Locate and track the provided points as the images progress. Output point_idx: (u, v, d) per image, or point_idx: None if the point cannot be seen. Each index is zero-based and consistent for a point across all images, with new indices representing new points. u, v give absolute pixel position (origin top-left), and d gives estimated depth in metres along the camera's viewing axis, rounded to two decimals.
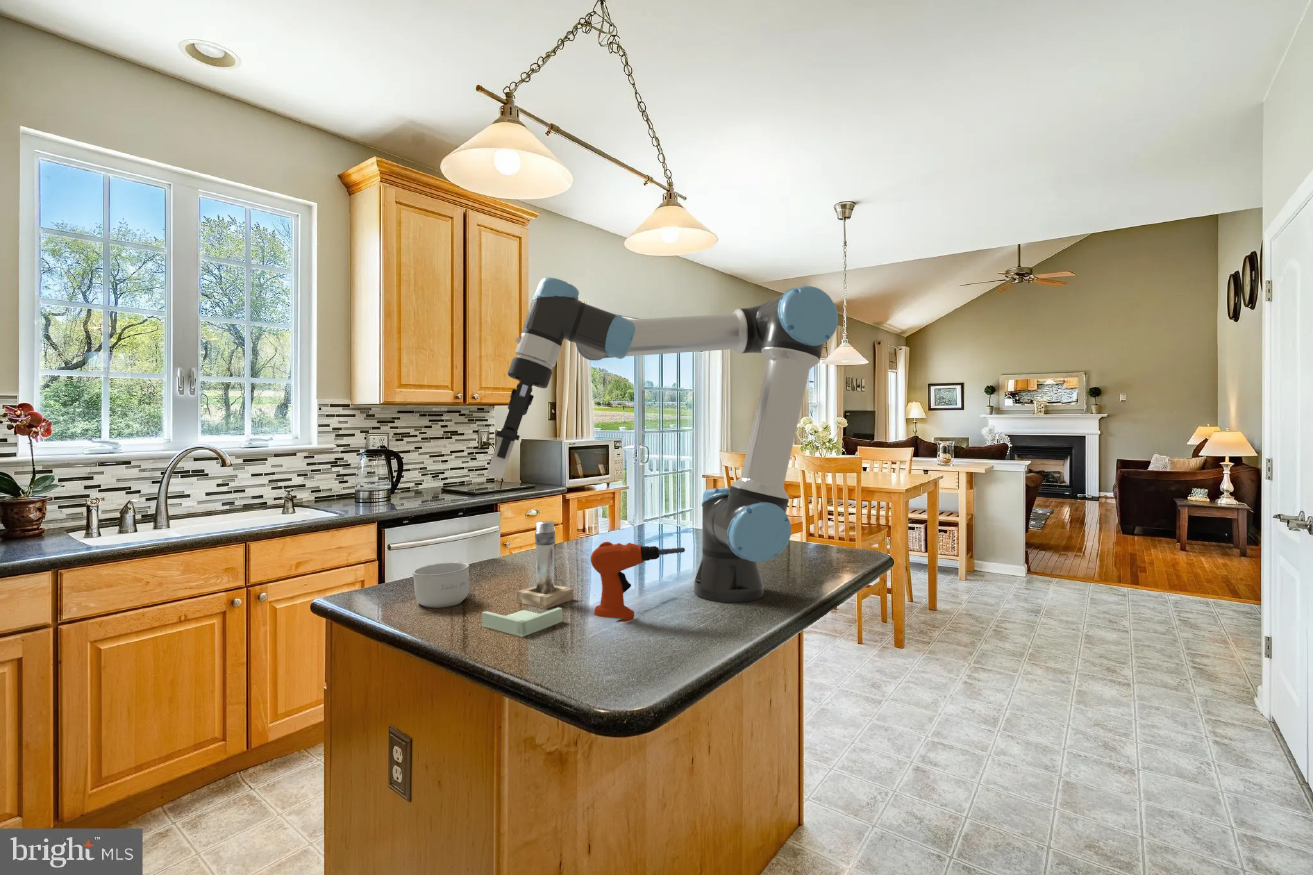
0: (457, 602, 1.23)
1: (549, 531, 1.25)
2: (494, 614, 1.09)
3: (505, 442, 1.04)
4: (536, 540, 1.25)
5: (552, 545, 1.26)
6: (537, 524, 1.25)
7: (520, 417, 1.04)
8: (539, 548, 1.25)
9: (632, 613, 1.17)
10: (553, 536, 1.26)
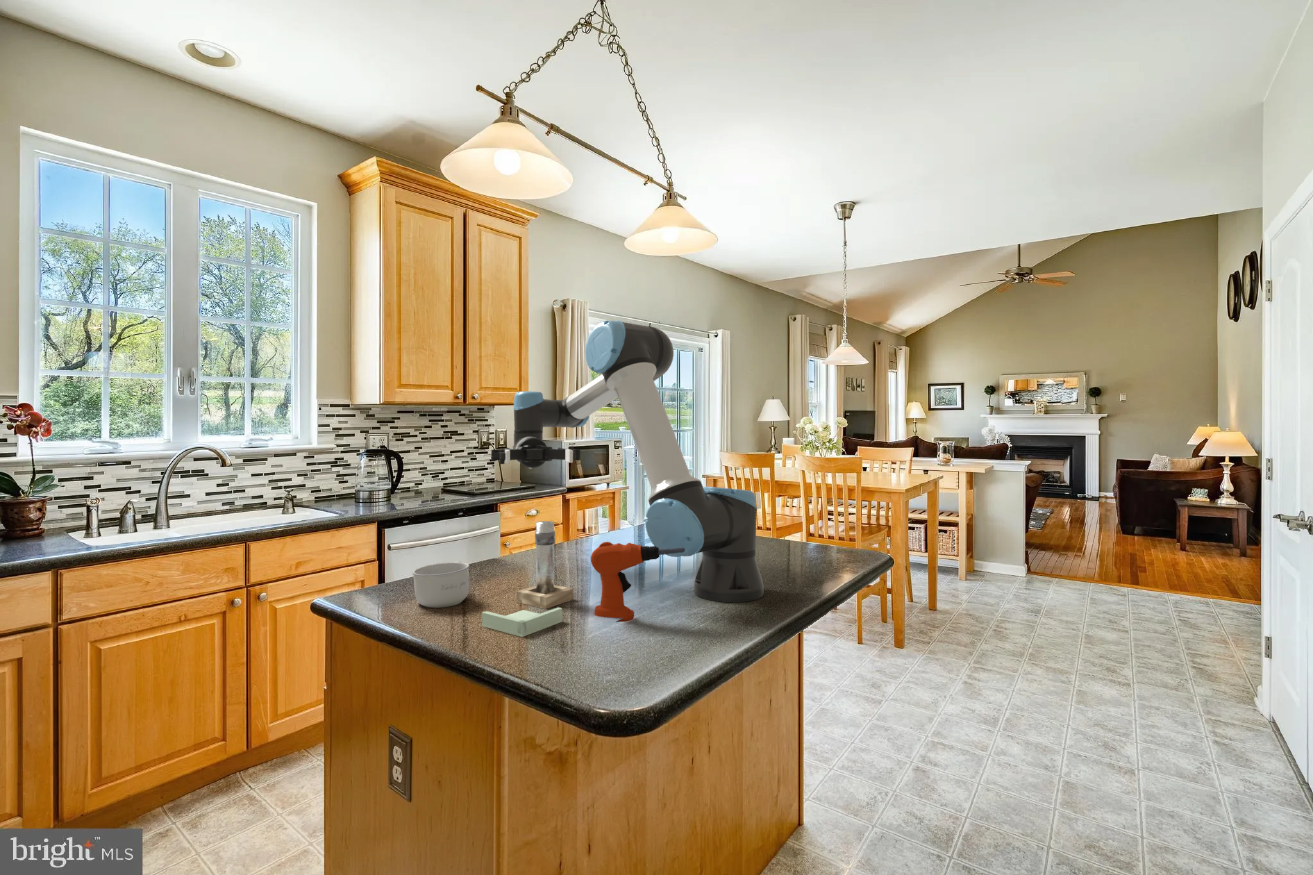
0: (457, 602, 1.23)
1: (549, 531, 1.25)
2: (494, 614, 1.09)
3: (500, 455, 1.39)
4: (536, 540, 1.25)
5: (552, 545, 1.26)
6: (537, 524, 1.25)
7: (497, 450, 1.43)
8: (539, 548, 1.25)
9: (632, 613, 1.17)
10: (553, 536, 1.26)
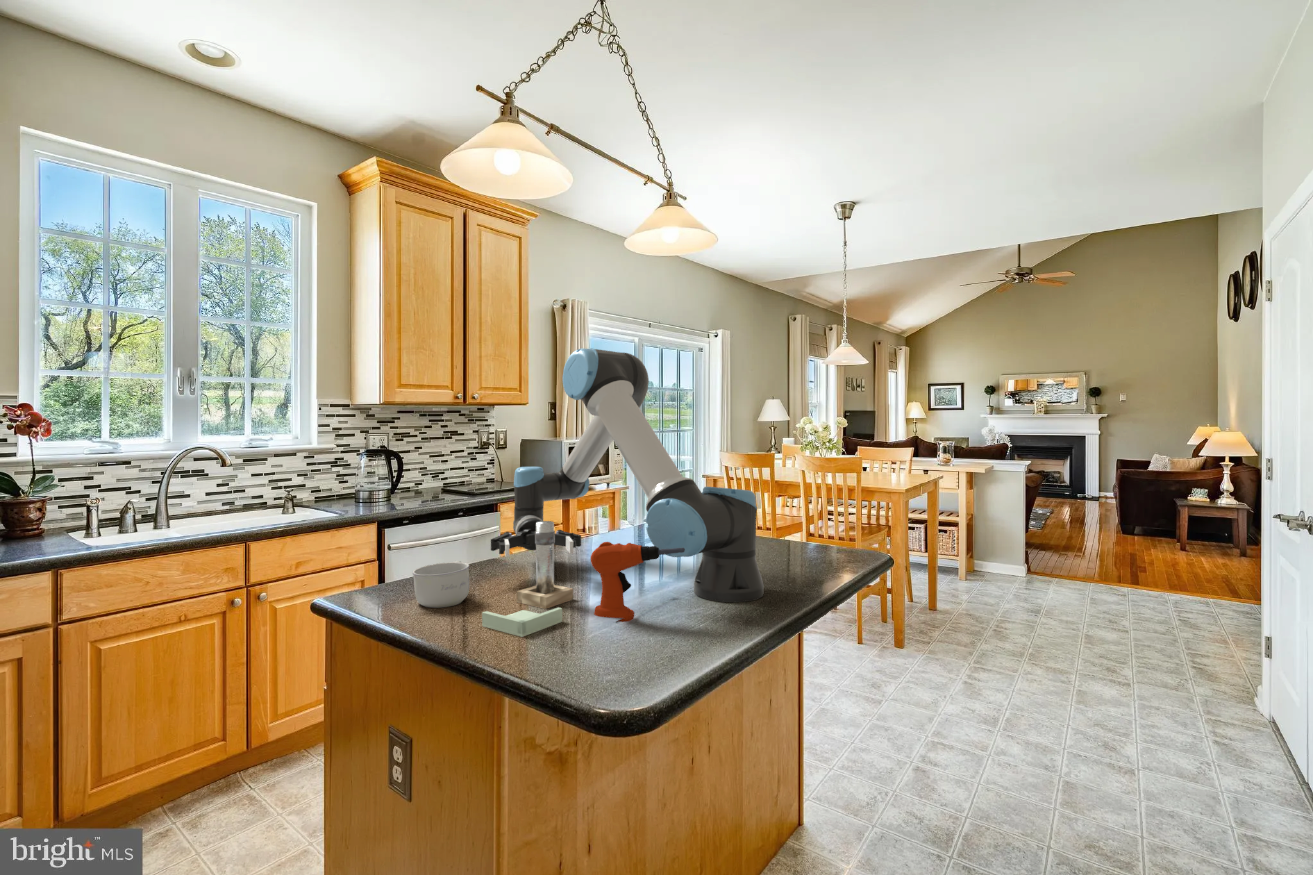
0: (457, 602, 1.23)
1: (549, 531, 1.25)
2: (494, 614, 1.09)
3: None
4: (536, 540, 1.25)
5: (552, 545, 1.26)
6: (537, 524, 1.25)
7: None
8: (539, 548, 1.25)
9: (632, 613, 1.17)
10: (553, 536, 1.26)
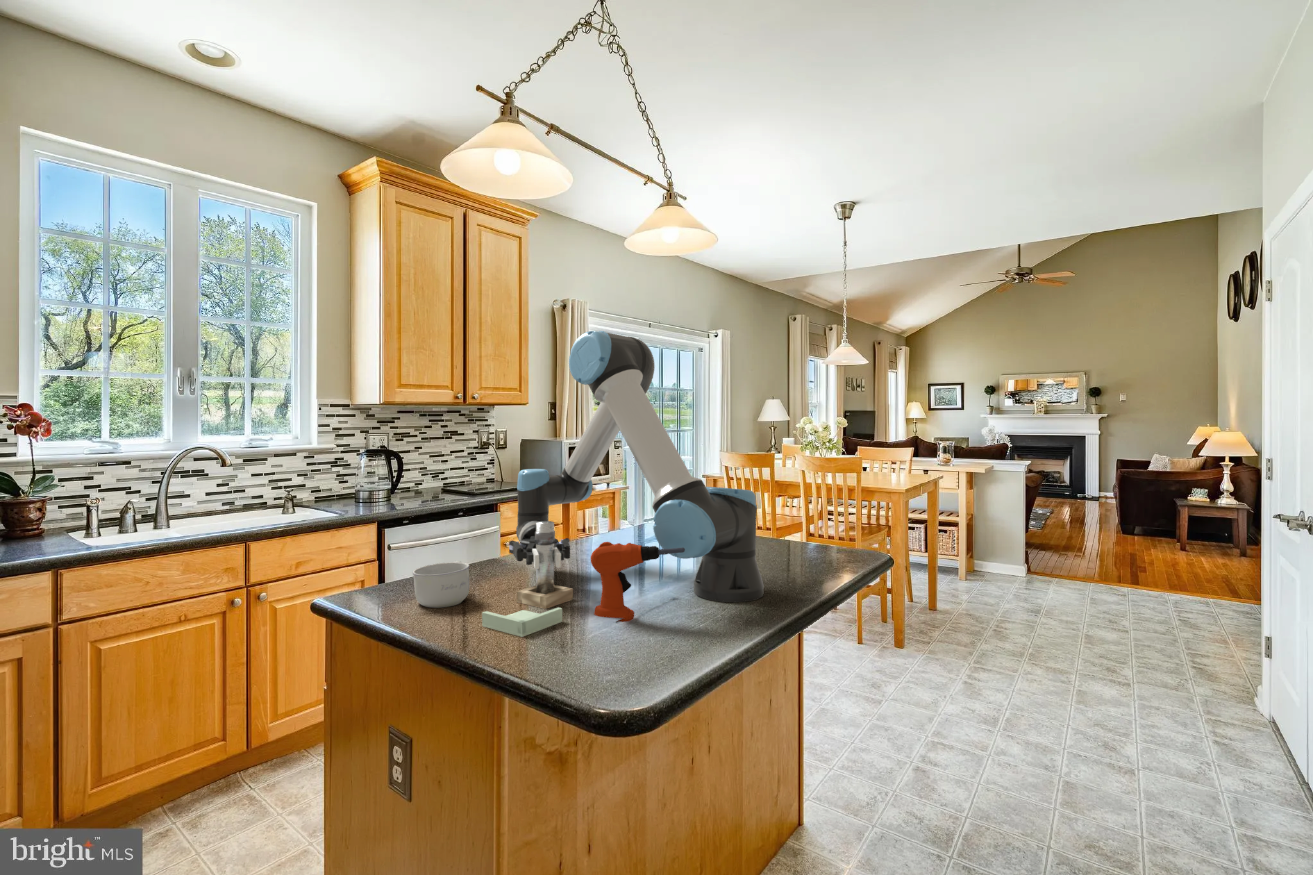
0: (457, 602, 1.23)
1: (549, 531, 1.25)
2: (494, 614, 1.09)
3: (526, 556, 1.26)
4: (536, 540, 1.25)
5: (552, 545, 1.26)
6: (537, 524, 1.25)
7: (515, 547, 1.30)
8: (539, 548, 1.25)
9: (632, 613, 1.17)
10: (553, 536, 1.26)
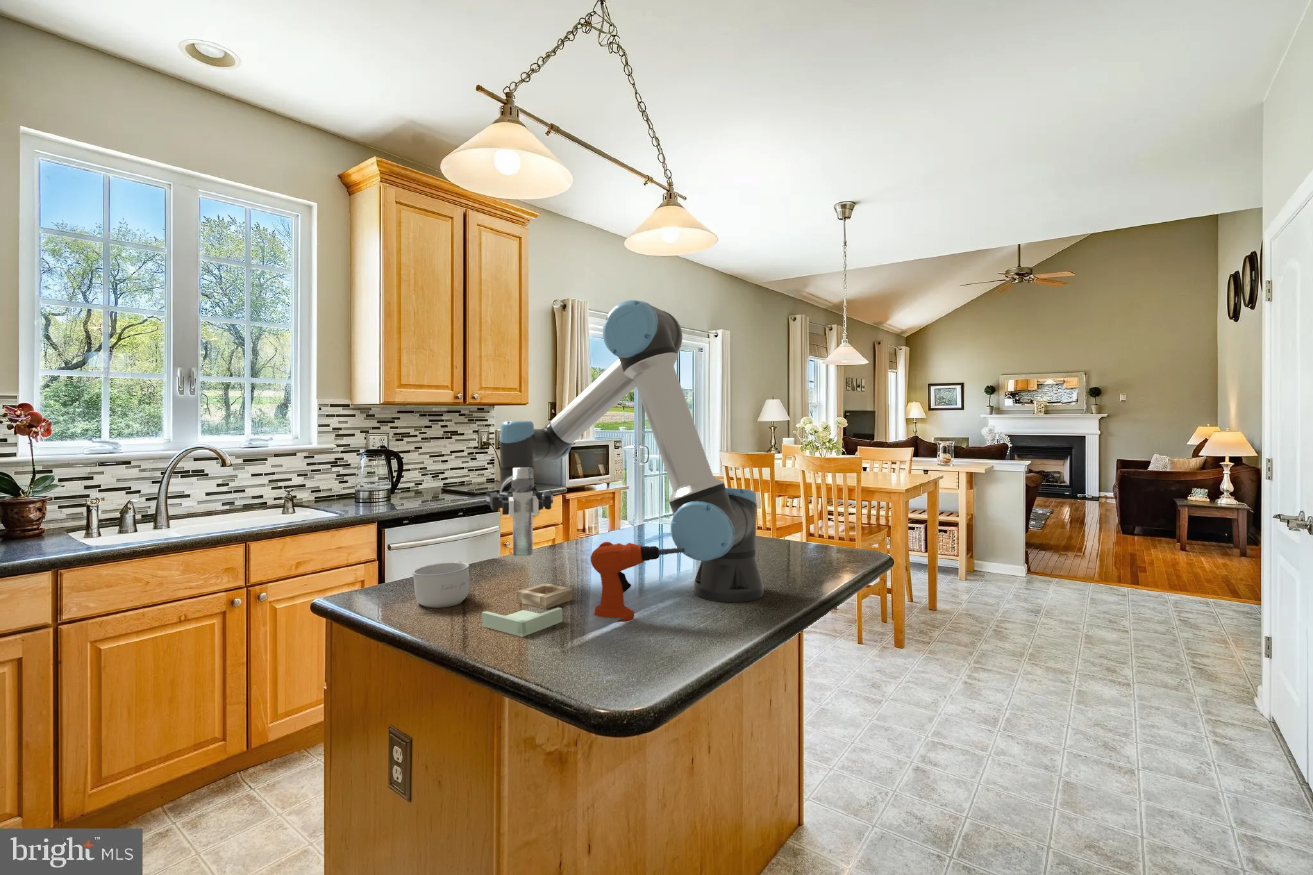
0: (457, 602, 1.23)
1: (526, 477, 1.13)
2: (494, 614, 1.09)
3: None
4: (512, 487, 1.14)
5: (530, 493, 1.14)
6: (513, 469, 1.14)
7: (491, 496, 1.19)
8: (515, 496, 1.13)
9: (632, 613, 1.17)
10: (531, 483, 1.14)
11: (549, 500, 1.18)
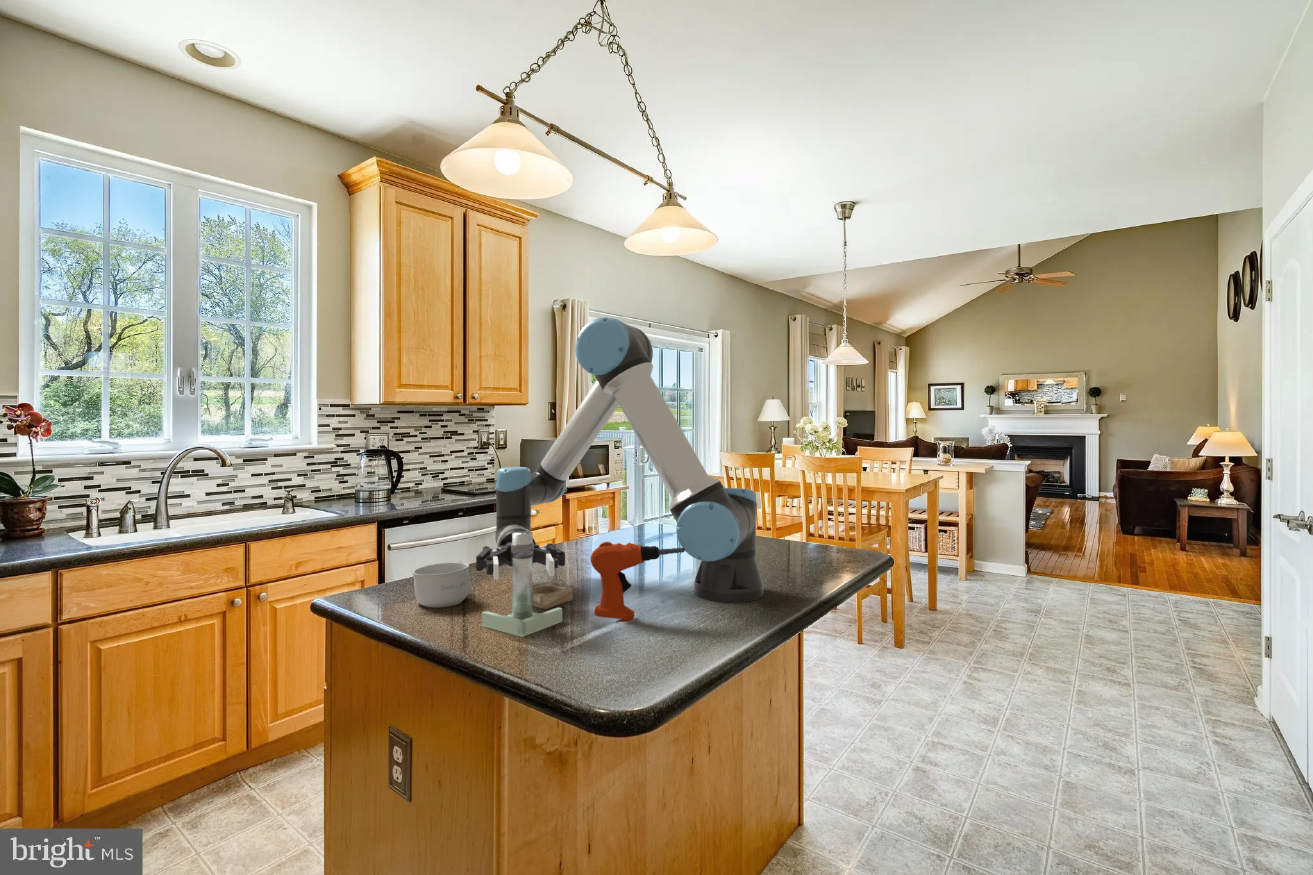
0: (457, 602, 1.23)
1: (527, 543, 1.10)
2: (494, 614, 1.09)
3: (486, 565, 1.11)
4: (512, 553, 1.11)
5: (530, 559, 1.11)
6: (513, 535, 1.11)
7: None
8: (515, 562, 1.10)
9: (632, 613, 1.17)
10: (531, 548, 1.11)
11: (564, 556, 1.17)
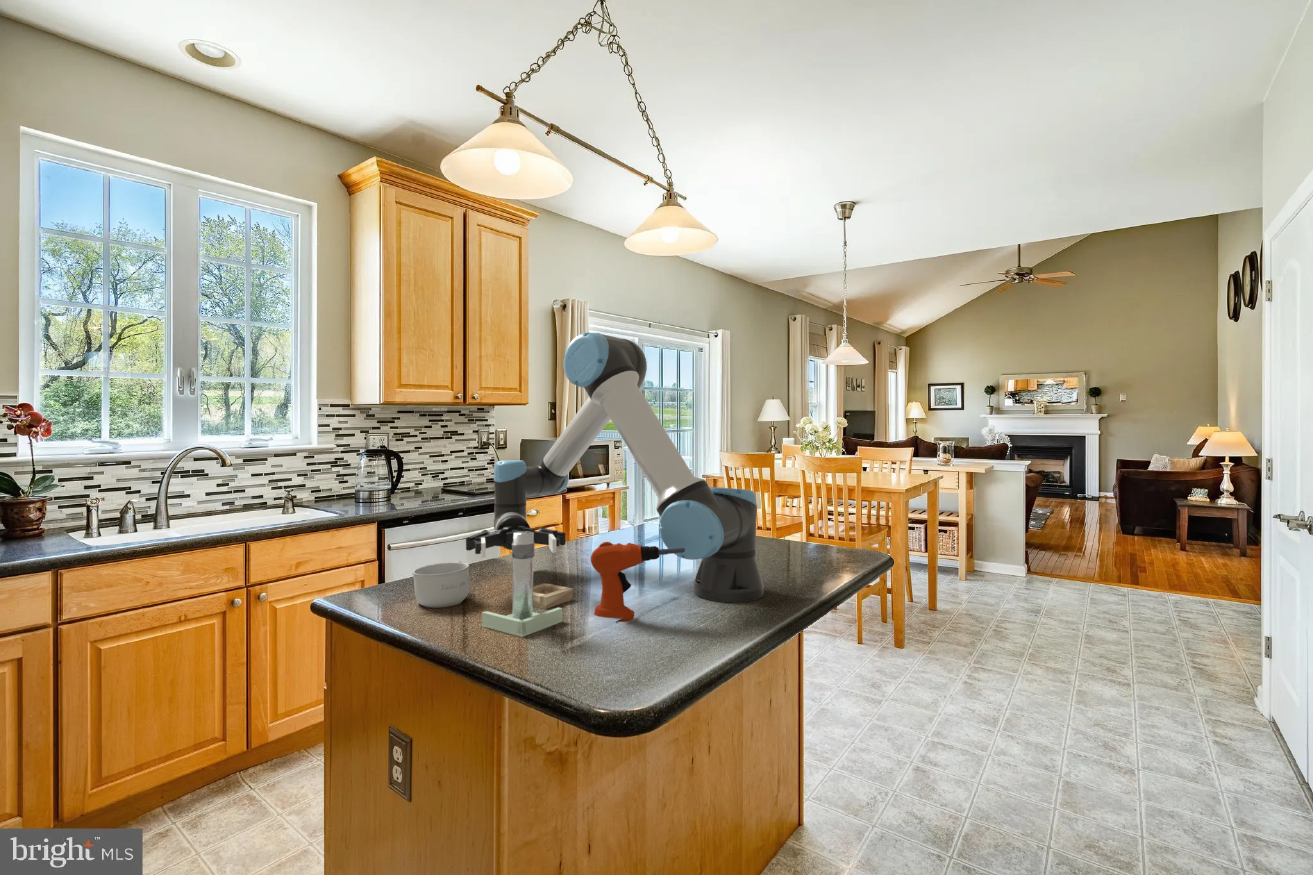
0: (457, 602, 1.23)
1: (528, 543, 1.10)
2: (494, 614, 1.09)
3: (475, 545, 1.25)
4: (513, 553, 1.11)
5: (531, 559, 1.11)
6: (514, 535, 1.11)
7: (473, 536, 1.29)
8: (516, 562, 1.10)
9: (632, 613, 1.17)
10: (532, 548, 1.11)
11: (565, 536, 1.31)
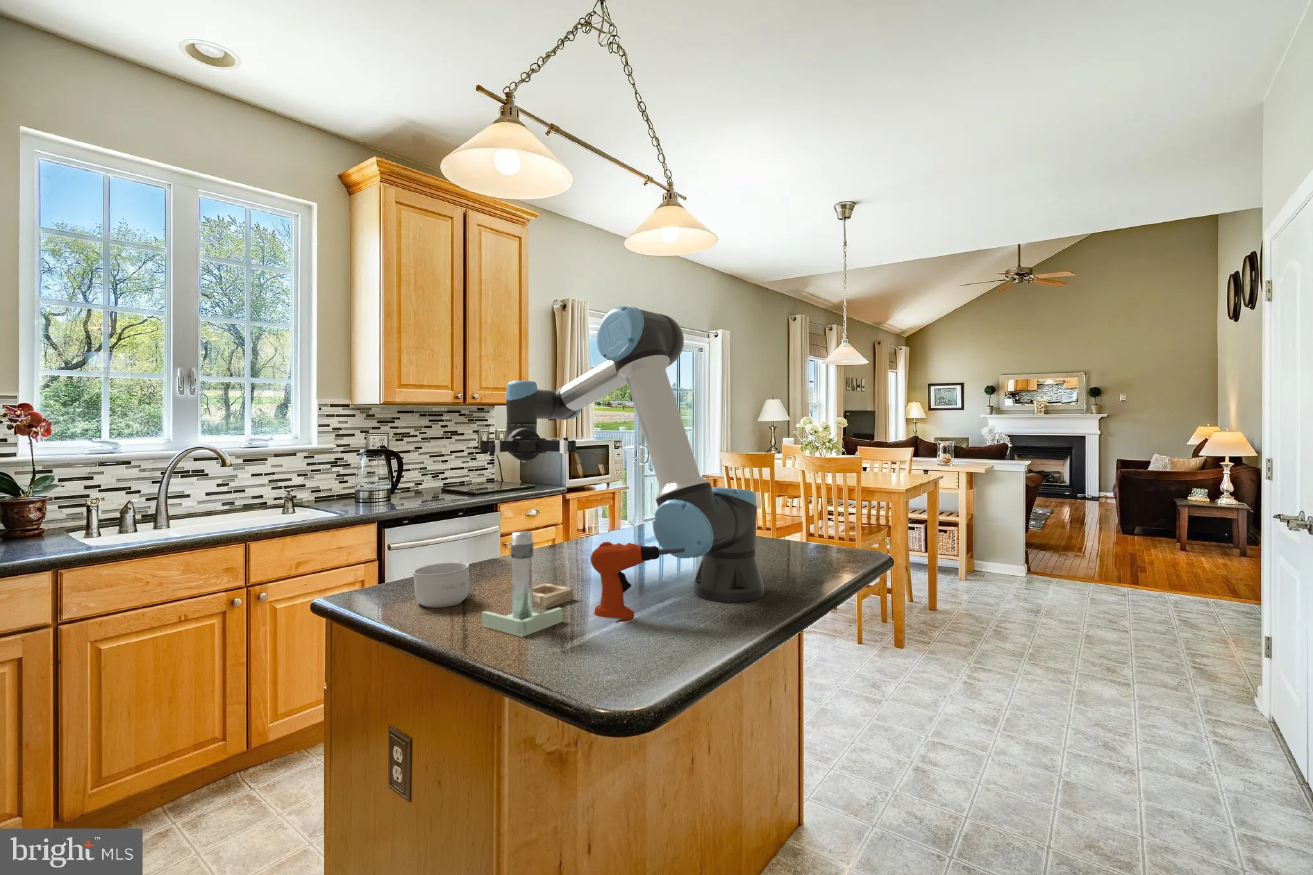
0: (457, 602, 1.23)
1: (526, 542, 1.10)
2: (494, 614, 1.09)
3: (489, 447, 1.30)
4: (512, 553, 1.11)
5: (530, 558, 1.11)
6: (513, 535, 1.11)
7: None
8: (515, 562, 1.10)
9: (632, 613, 1.17)
10: (531, 548, 1.11)
11: (575, 444, 1.36)
